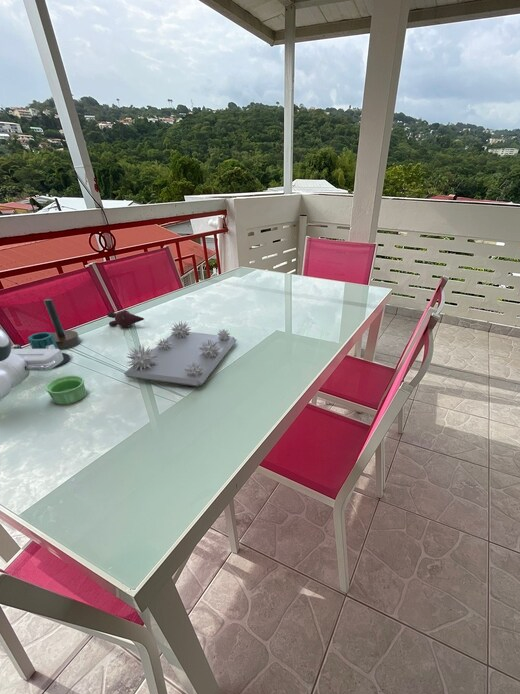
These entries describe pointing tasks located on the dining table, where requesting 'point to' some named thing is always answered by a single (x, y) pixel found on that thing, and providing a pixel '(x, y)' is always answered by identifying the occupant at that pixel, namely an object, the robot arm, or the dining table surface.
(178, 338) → the decorative tray
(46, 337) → the teal ribbed hollow cylinder
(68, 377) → the ramekin
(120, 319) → the icecream
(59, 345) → the holder
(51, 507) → the dining table surface
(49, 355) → the robot arm
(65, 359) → the coaster
